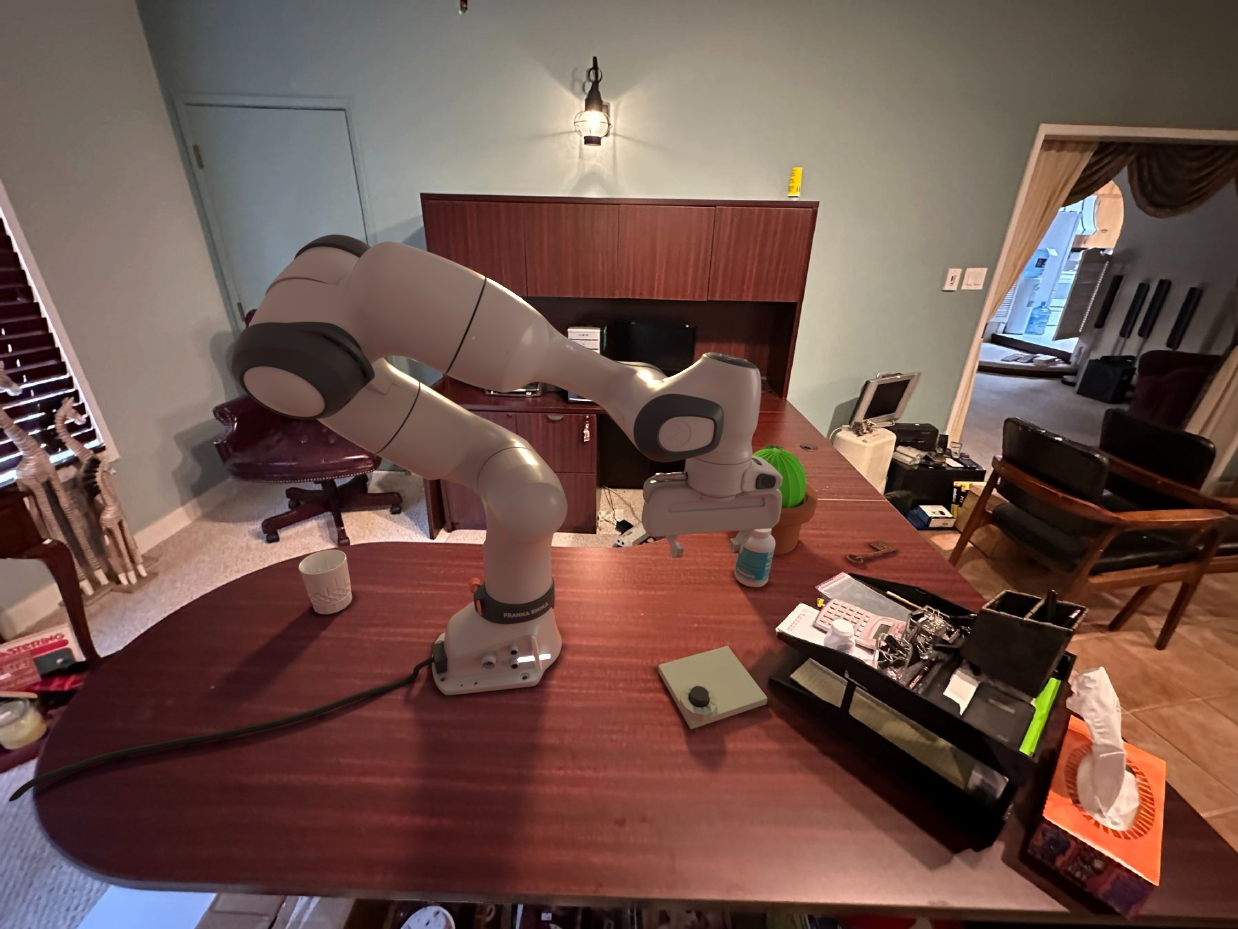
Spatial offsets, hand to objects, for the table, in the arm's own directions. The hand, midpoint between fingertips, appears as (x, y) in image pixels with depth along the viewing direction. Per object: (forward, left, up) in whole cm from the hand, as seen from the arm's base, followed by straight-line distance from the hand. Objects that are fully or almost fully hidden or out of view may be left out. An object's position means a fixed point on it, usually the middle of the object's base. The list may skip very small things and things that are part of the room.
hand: (705, 553), depth 75 cm
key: (+60, +19, -25) cm, 68 cm away
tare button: (-2, -7, -23) cm, 24 cm away
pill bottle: (+26, +20, -25) cm, 41 cm away
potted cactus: (+39, +34, -25) cm, 57 cm away
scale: (+2, -3, -25) cm, 25 cm away
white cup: (-59, +39, -25) cm, 75 cm away
